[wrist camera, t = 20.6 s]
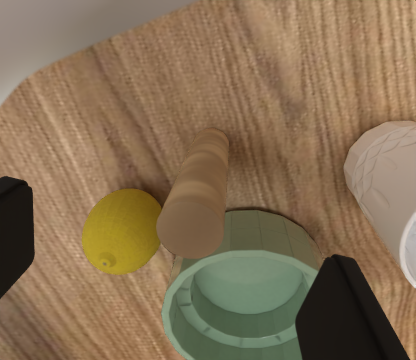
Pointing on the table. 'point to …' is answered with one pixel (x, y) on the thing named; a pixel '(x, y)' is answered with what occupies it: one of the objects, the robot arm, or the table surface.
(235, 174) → the table surface
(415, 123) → the white cup
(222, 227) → the stick
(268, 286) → the bowl
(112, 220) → the lemon
